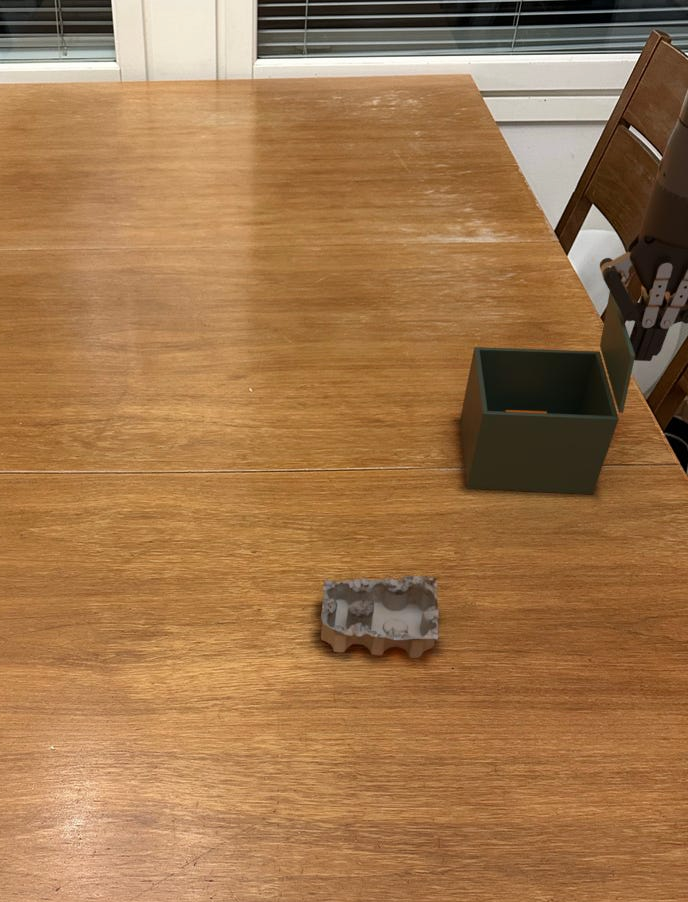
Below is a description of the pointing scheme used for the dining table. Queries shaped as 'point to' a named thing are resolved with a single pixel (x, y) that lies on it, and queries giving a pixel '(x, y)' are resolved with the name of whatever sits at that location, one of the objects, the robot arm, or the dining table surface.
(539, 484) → the dark green box
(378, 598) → the egg carton
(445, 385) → the dining table surface
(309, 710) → the dining table surface
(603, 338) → the flap
